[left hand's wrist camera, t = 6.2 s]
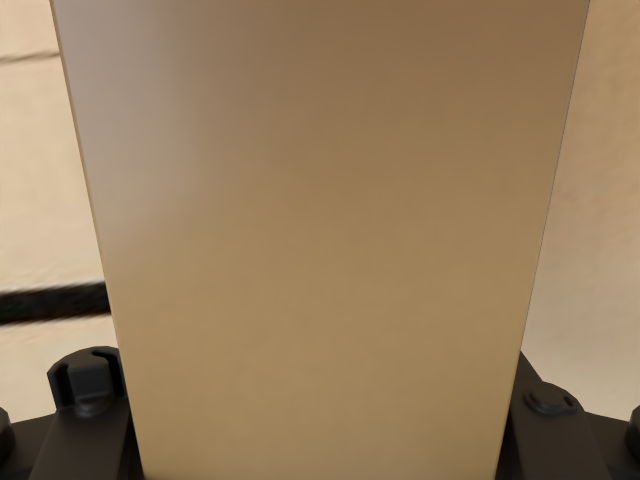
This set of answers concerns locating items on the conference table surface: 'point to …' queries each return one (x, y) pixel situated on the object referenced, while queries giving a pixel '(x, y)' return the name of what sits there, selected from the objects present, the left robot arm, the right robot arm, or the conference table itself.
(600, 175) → the conference table surface
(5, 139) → the conference table surface
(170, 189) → the bar
